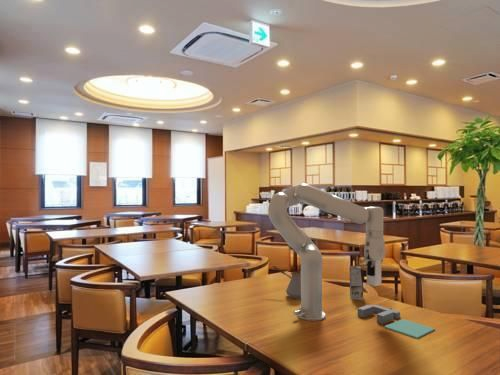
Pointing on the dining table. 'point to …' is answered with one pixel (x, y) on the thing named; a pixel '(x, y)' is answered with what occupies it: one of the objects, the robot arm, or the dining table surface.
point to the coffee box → (356, 282)
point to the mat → (409, 328)
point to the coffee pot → (293, 284)
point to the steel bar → (375, 274)
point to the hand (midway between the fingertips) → (374, 274)
